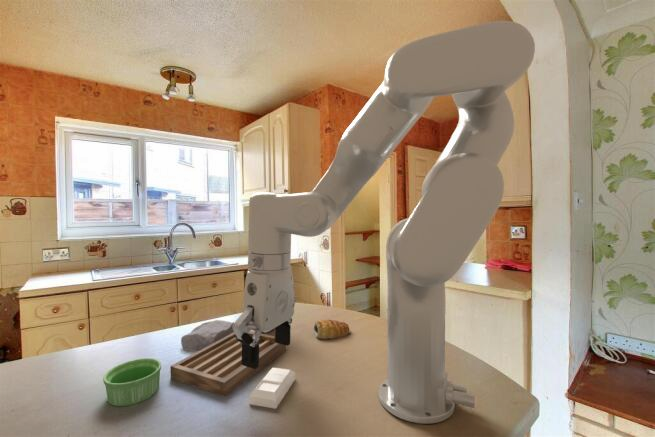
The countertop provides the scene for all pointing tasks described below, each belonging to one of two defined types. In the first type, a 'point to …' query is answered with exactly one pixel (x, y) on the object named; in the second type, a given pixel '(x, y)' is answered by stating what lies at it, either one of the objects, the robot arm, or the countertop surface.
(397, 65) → the robot arm
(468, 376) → the countertop surface
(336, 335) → the pastry
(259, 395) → the soap bar
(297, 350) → the countertop surface
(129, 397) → the ramekin
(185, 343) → the stone block
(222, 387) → the drying rack
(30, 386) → the countertop surface
